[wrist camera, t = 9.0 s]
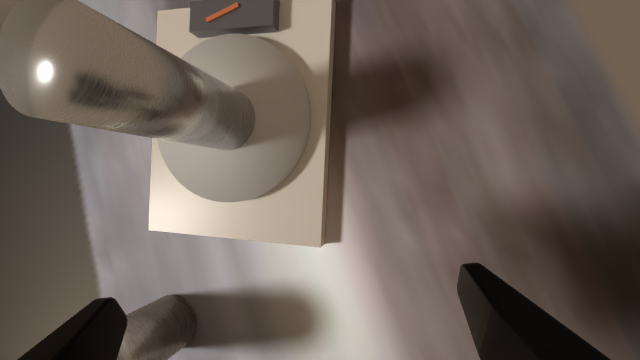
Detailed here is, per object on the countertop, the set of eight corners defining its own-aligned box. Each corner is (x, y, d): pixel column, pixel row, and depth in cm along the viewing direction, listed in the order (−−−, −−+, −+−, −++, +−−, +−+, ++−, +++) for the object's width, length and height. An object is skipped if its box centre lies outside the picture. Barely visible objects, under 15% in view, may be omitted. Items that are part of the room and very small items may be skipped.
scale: (324, 243, 21) (315, 251, 19) (160, 227, 24) (135, 232, 22) (335, 3, 21) (328, -19, 19) (169, 19, 24) (145, 2, 22)
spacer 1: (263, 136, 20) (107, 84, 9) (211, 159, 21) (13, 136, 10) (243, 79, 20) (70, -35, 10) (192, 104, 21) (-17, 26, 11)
